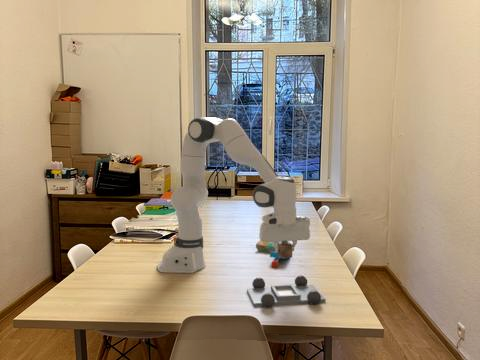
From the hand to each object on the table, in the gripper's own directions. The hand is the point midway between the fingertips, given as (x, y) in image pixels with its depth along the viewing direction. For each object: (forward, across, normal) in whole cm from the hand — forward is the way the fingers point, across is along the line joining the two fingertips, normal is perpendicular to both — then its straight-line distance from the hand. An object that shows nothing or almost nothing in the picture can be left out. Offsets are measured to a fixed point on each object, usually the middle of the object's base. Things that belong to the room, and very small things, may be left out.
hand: (284, 251), depth 169 cm
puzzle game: (+17, -10, -60) cm, 64 cm away
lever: (+17, -8, -36) cm, 41 cm away
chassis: (+17, +1, +5) cm, 18 cm away
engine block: (+2, 0, 0) cm, 2 cm away
